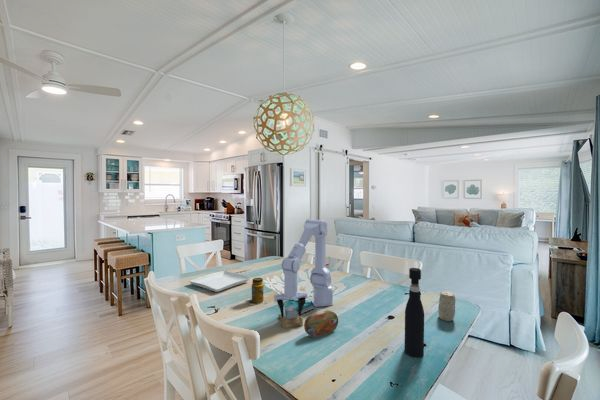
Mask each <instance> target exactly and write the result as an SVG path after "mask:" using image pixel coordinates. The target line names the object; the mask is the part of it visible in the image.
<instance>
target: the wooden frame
mask: <svg viewBox="0 0 600 400" xmlns="http://www.w3.org/2000/svg"><path fill="white" fill-rule="evenodd" d="M277 316H278V318H279V319H280V322H281V325H282V328H283V329H286V328H287V329H288V328H295V327H302V326H303V327H304V323H303V322H304V317H303V316H302V315H301V316H299V314H298V312H297V318H294V319H286V318H285V317H283V318H282V316H281V313H279V314H277Z"/></svg>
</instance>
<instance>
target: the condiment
mask: <svg viewBox="0 0 600 400" xmlns="http://www.w3.org/2000/svg"><path fill="white" fill-rule="evenodd" d="M263 280H264V279H263V278H261V277H253V278H252V284H251V299H249V300H247V299H246V300H245V302H246V303H247V304H249V306H255V305H262V304H264V303H267V301H265V300H264V281H263Z"/></svg>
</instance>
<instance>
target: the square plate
mask: <svg viewBox="0 0 600 400" xmlns="http://www.w3.org/2000/svg"><path fill="white" fill-rule="evenodd" d="M250 279H252V277H251V276H248V275H244V274H242V273H236V272H232V271H228V270H221V271H217V272H213V273H210V274H206V275H202V276H200V277H196V278H193V279H190V280H188V283H190V284H192V285H193V286H196V287H201V288H204V289H207V290H209V291H212V292H216V293H219V292H221V291H224V290H227V289H231V288H234V287H236V286H239V285H241V284H243V283H247V282H248V281H249V280H250Z"/></svg>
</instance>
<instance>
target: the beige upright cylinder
mask: <svg viewBox="0 0 600 400" xmlns="http://www.w3.org/2000/svg"><path fill="white" fill-rule="evenodd" d="M437 310H438V311H437V312H438V317H439V318H440V320H442V321H445V322H453V320H454V318H455V315H456V295H455V294H454V292H451V291H448V290H447V291H446V290H444V291H441V292H440V293H439V299H438V309H437Z"/></svg>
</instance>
